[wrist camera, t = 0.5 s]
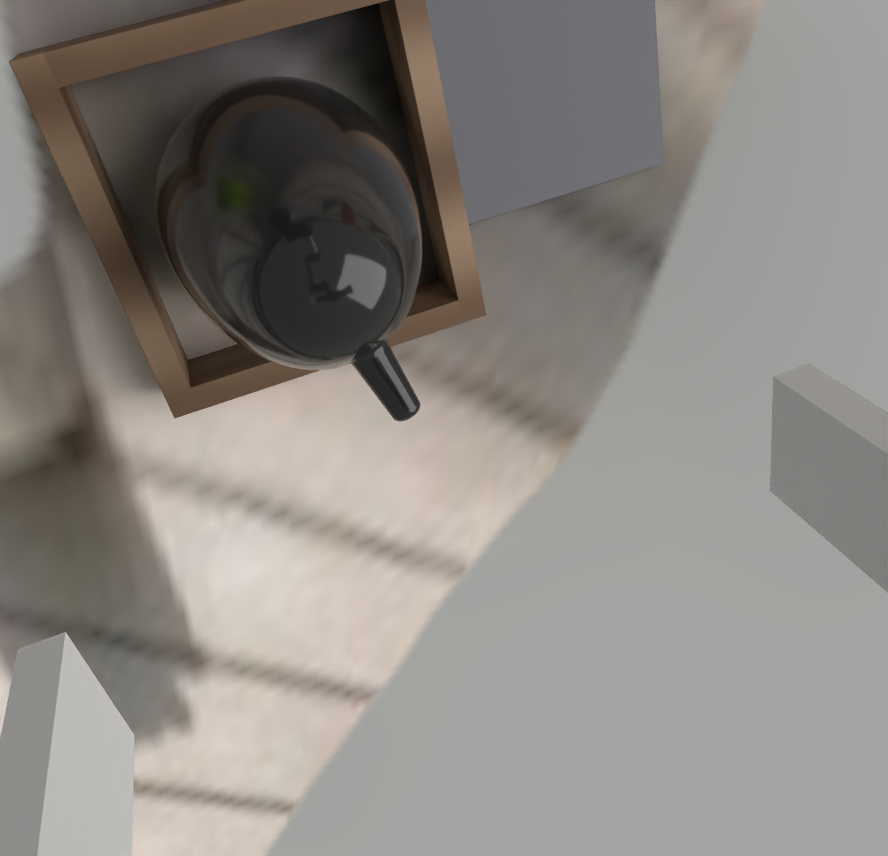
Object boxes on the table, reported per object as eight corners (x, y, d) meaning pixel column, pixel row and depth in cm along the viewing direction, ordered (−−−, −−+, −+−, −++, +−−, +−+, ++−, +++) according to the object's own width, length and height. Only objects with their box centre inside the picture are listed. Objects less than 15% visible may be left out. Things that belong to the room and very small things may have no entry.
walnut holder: (20, 53, 31) (9, 62, 29) (397, -44, 34) (416, -44, 31) (173, 389, 40) (174, 418, 37) (466, 293, 42) (486, 314, 39)
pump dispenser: (246, 338, 40) (290, 516, 27) (101, 148, 34) (72, 262, 21) (424, 227, 40) (550, 353, 27) (310, 17, 34) (404, 53, 21)
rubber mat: (402, -55, 33) (405, -54, 33) (642, -116, 35) (648, -117, 35) (458, 223, 40) (461, 226, 40) (658, 161, 42) (663, 163, 41)
